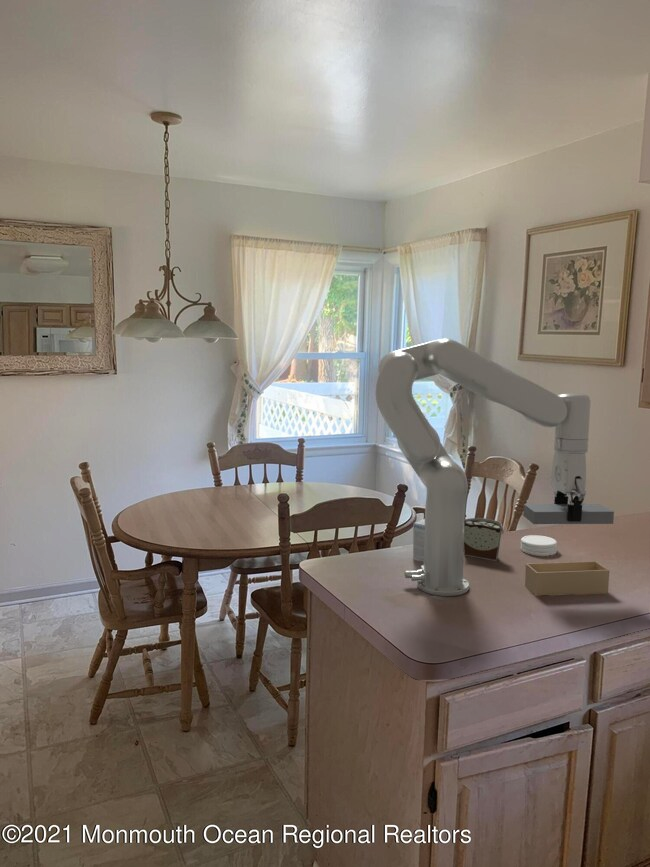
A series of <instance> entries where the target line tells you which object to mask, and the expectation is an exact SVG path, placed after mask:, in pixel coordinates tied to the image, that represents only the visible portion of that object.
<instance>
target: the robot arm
mask: <svg viewBox="0 0 650 867" xmlns="http://www.w3.org/2000/svg"><path fill="white" fill-rule="evenodd" d="M378 372H379V373H378V376H377V380H376V385H375V400H376V405H377V408H378V410H379V412H380V414H381V416H382V417H383V419H384V421H385V423H386V424H387V426H388V427H389V429H390V431H391V432H392V434H393V436H394V437H395V439H396V441H397V446H398V448H399V450H400V451H401V453H402V454H403V456H404V457H405V459H406V460H407V462H408V463H409V465H410V466H411V468H412V470H413V471H414V472H415V474H416V476H418V478H419V479H420V481H421V483H422V484H423V486H425V489H426V499H425V505H424V506H425V507H424V508H425V509H424V519H425V539H424V562H423V565H420V568H418V569H417V570H411V569H408V570H404V579H411V582H416V585H417V587H418V588H419V589H420V590H421V591H422V592H425V593H427V594H431V595H434V596H439V597H452V596H453V597H454V596H455V597H456V596H460V595H464V594H465V593H467V592H469V589H470V583H469V580H467V579H465V578H464V556H465V555H464V520H465V519H466V516H465V513H466V503H467V498H468V497H467V496H468V490H469V489H468V488H469V484H468V479H467V478H468V477H467V475H466V473H465V471H464V469H463V467H461V466H460V465H459V464H458V463H457V462H456V461H454V460H453V459H452V458H451V456H450V455H449V453H448V452H447V450H446V449H445V447H444V445H443V444H442V443H441V439H440V436H439V434H438V432H437V431H436V429H435V428H434V427H433V426H432V425H431V424H430V422H429V420H428V419H427V417H426V416H425V414H424V413H423V412H422V410H421V408H420V406H419V405H418V403H417V402H416V400H415V397H414V394H413V386H414V385H413V384H414V382H415V381H418V380H421V379H425V378H430V377H433V376H436V375H441V376H443V377H444V378H446V379H448V380H449V381H452V382H454V383H456V384H458V385H460V386H461V387H463V388H465V389H466V390H469V391H470V392H472V393H474V394H476V395H477V396H480V397H481V398H484V399H486V400H488V401H490V402H494V403H497V404H499V405H503V406H504V407H506V408H509V409H511V410H513V411H516V412H517V413H519V414H520V415H522V416H523V417H524V419H526V420H527V421H529V422H531V423H534V424H536V425H540V426H542V427H545V428H554V427H555V428H554V447H553V448H554V449H553V451H554V453H553V459H552V464H551V465H552V468H551V476H550V485H551V486H552V487H553V489H554V491H553V492H554V493H553V494H554V503H553V504H570V505H568V512H567V520H568V521H569V522H578V521H581V517H582V505H583V504H584V500H585V496H586V492H587V491H586V483H587V458H586V457H587V456H586V454H587V453H588V451H589V450H588V449H589V432H590V416H591V415H590V414H591V398H590V396H589V395H588V394H585V393H575V392H573V393H571V392H568V393H561V394H560V393H559V394H558V393H557V394H556V393H553V392H551V391H550V390H548V389H546V388H544V387H542V386H540V385H539V384H537V383H535V382H533V381H531V380H529V379H528V378H525V377H523V376H521V375H519V374H517V373H516V372H513V371H512V370H510V369H508V368H506V367H505V366H503V365H502V364H499V363H497V362H495V361H493V360H492V359H490V358H488V357H486V356H484V355H482V354H481V353H478V352H477V351H475V350H474V349H471V348H470V347H468V346H465V345H464V344H463V343H461V342H458V341H456V340H454V339H451V338H438V339H434V340H431V341H428V342H425V343H421V344H417V345H413V346H410V347H406V348H402V349H397V350H393V351H390V352H388V353H387V354H385V355H384V356H383V357H382V358H381V360H380V361H379V365H378Z"/></svg>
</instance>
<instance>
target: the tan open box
mask: <svg viewBox="0 0 650 867" xmlns="http://www.w3.org/2000/svg"><path fill="white" fill-rule="evenodd" d="M524 573H525V574H524V575H525V576H524V577H525V578H524V587H525V588H526V589H528V590H529V591H530V592H531V593H532V594H533V593H534V594H535V595H536V596H535V595H534V594H533V595H534V596H535V597H539V596H538V595H550V596H560V595H559V594H575V595H597V594H599V595H602V594H609V584H610V583H609V582H610V569H608V568H607V567H605V566H604V565H602V564H601V563H599V561H596V560H595V561H594V560H591V561H589V560H588V561H566V562H564V561H563V562H561V561H560V562H536V563H525V572H524Z"/></svg>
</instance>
